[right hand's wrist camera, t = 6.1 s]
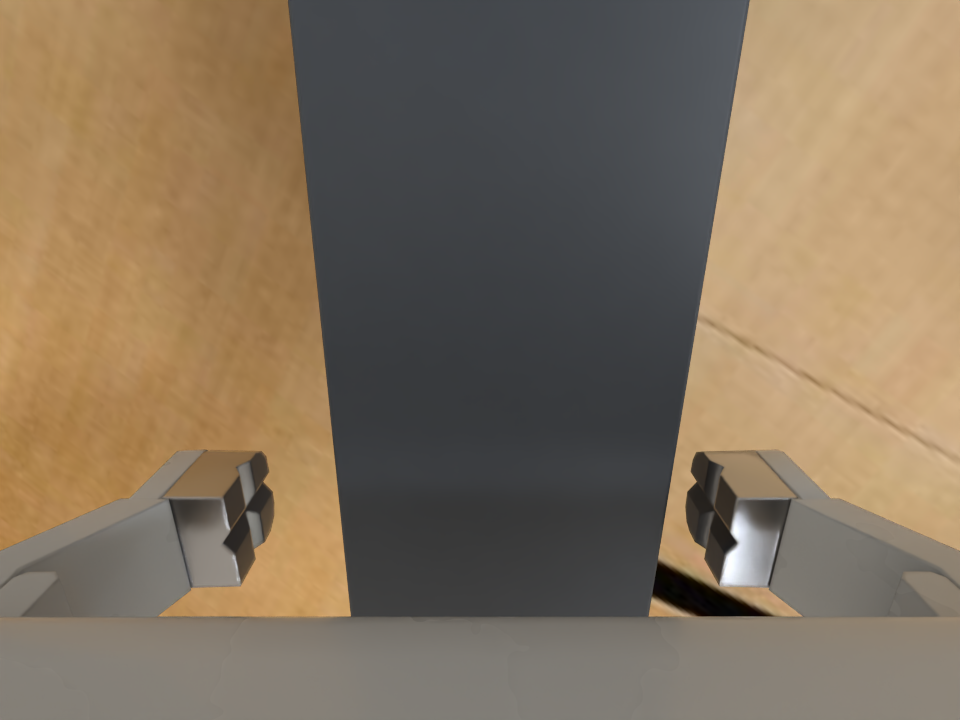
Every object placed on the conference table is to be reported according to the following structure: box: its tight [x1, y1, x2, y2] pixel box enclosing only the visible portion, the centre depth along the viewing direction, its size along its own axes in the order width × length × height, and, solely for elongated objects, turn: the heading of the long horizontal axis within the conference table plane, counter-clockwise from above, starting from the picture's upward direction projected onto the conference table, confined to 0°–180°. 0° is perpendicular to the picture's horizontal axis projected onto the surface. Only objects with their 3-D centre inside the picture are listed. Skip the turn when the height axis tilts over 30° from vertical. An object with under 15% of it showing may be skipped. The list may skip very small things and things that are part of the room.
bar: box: [288, 0, 750, 617], centre depth 10 cm, size 23×6×8 cm, turn 179°
